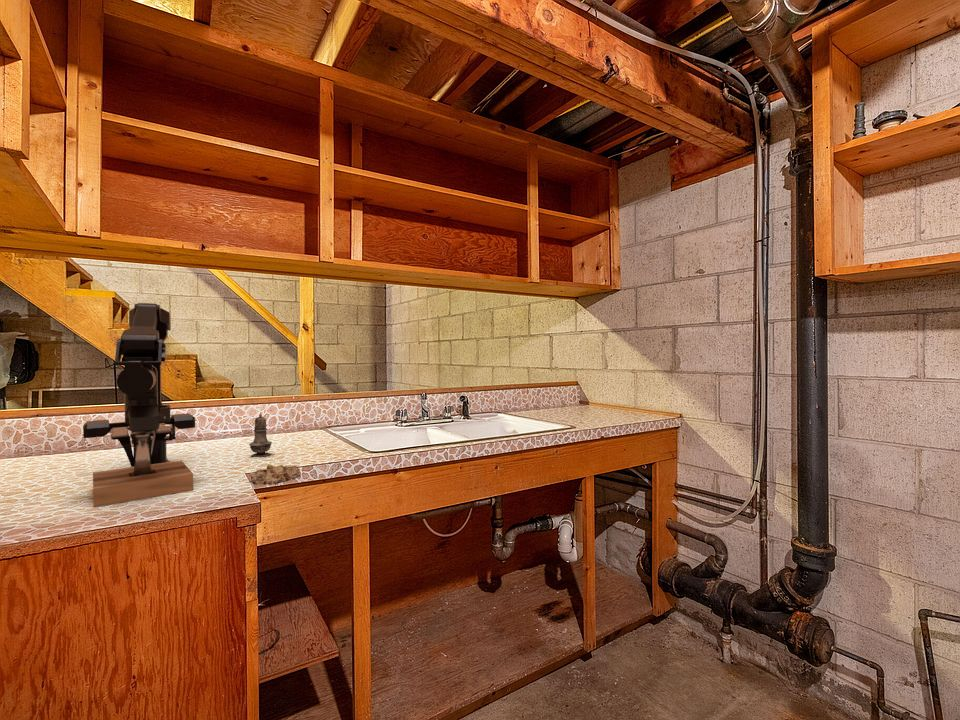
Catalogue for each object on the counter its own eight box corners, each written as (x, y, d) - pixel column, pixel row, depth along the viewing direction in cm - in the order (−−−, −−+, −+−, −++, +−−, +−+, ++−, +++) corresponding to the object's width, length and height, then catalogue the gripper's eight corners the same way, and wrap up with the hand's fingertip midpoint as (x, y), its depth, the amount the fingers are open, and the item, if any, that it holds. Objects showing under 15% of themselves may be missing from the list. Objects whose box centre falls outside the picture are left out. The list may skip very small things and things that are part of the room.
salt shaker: (276, 455, 128) (276, 413, 128) (256, 459, 123) (256, 415, 123) (264, 452, 131) (264, 411, 131) (244, 456, 126) (244, 414, 126)
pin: (130, 479, 96) (129, 432, 96) (153, 475, 98) (152, 430, 98) (131, 483, 93) (130, 435, 93) (155, 479, 95) (154, 432, 95)
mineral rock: (255, 478, 96) (247, 461, 102) (253, 496, 97) (246, 478, 103) (306, 471, 103) (296, 456, 109) (304, 488, 104) (294, 472, 110)
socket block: (93, 488, 96) (92, 472, 96) (181, 474, 107) (181, 460, 107) (93, 507, 84) (93, 488, 84) (193, 490, 95) (193, 473, 95)
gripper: (82, 398, 83) (83, 481, 83) (199, 392, 95) (200, 464, 96) (83, 394, 92) (84, 469, 92) (190, 388, 104) (191, 456, 104)
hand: (142, 465), depth 96 cm, fingers closed on pin, 3 cm apart
